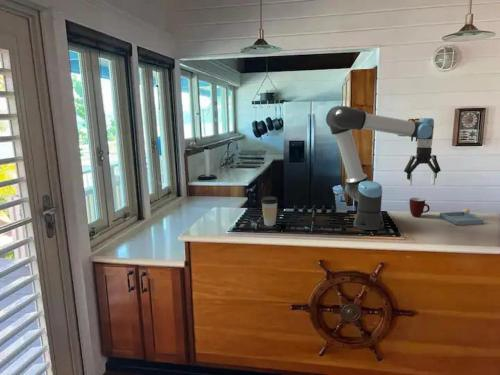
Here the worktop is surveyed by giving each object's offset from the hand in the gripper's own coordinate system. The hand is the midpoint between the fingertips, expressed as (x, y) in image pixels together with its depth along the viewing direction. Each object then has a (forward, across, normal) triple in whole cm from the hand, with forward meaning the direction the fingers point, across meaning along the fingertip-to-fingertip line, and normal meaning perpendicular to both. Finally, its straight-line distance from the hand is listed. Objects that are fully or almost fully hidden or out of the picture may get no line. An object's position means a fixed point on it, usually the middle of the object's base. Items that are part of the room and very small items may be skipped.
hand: (421, 184), depth 210 cm
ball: (+18, +28, -1) cm, 33 cm away
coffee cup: (+19, -86, -1) cm, 88 cm away
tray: (+18, +18, -11) cm, 28 cm away
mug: (+19, 0, 0) cm, 19 cm away
